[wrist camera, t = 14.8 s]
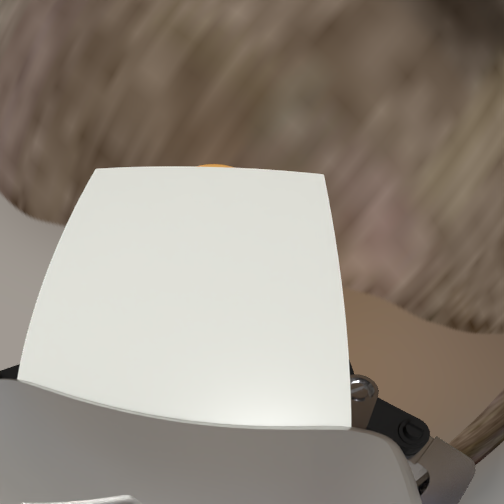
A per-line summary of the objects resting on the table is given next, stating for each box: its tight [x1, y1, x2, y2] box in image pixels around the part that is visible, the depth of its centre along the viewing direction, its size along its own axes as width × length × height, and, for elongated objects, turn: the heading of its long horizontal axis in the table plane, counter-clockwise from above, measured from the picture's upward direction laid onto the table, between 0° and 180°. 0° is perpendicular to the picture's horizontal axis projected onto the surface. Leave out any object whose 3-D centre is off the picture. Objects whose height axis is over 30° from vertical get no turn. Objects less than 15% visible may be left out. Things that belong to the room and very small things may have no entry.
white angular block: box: [17, 167, 351, 427], centre depth 10 cm, size 8×8×9 cm
